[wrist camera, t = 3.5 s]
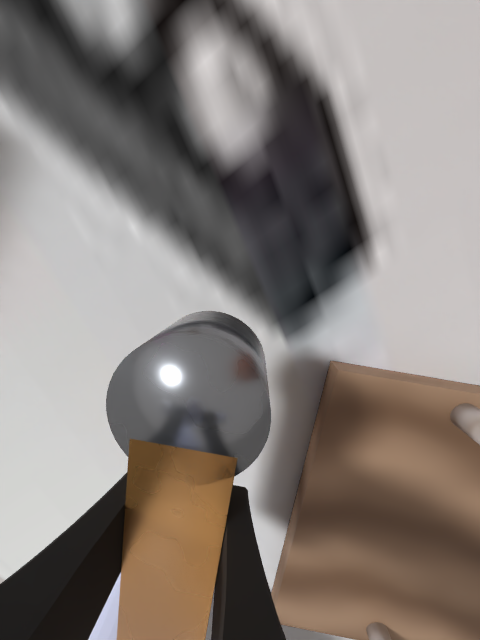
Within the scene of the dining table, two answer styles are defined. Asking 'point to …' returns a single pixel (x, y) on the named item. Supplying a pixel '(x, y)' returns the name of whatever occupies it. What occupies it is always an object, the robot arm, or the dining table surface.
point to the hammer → (183, 465)
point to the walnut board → (386, 511)
